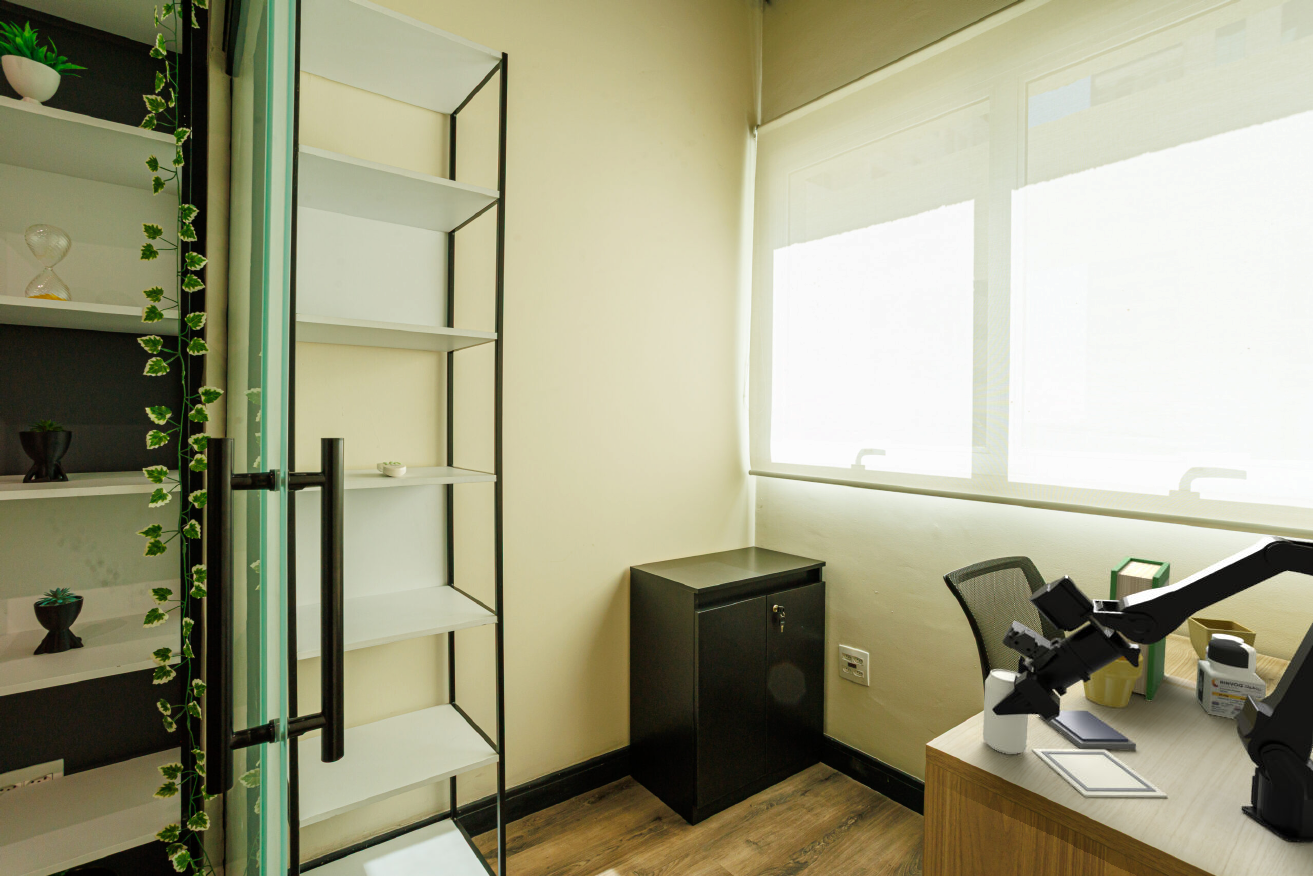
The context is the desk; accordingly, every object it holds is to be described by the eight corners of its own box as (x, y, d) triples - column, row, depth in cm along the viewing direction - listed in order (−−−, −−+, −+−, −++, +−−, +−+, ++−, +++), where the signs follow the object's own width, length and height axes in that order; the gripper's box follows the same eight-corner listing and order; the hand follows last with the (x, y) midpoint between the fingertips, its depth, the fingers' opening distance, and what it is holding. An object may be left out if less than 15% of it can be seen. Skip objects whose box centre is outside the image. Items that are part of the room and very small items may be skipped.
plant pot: (1145, 718, 111) (1148, 665, 111) (1076, 704, 116) (1079, 653, 116) (1135, 696, 120) (1137, 646, 120) (1071, 683, 125) (1073, 636, 125)
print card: (1167, 797, 88) (1167, 794, 88) (1084, 797, 88) (1085, 794, 88) (1104, 751, 100) (1104, 748, 100) (1031, 750, 100) (1032, 748, 100)
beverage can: (1022, 742, 102) (1025, 671, 102) (1029, 761, 97) (1032, 686, 96) (980, 734, 105) (983, 664, 104) (985, 752, 99) (988, 679, 98)
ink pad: (1135, 749, 101) (1136, 741, 101) (1081, 749, 100) (1081, 741, 100) (1087, 716, 112) (1087, 708, 112) (1038, 716, 111) (1038, 708, 111)
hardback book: (1151, 701, 118) (1158, 577, 117) (1104, 688, 124) (1111, 570, 123) (1163, 674, 131) (1170, 562, 130) (1120, 664, 136) (1126, 556, 135)
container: (1207, 715, 113) (1212, 645, 113) (1195, 698, 120) (1198, 632, 119) (1264, 725, 110) (1269, 654, 109) (1247, 707, 116) (1252, 640, 116)
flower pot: (1205, 669, 134) (1207, 628, 134) (1184, 654, 143) (1186, 615, 142) (1255, 674, 132) (1257, 633, 131) (1230, 659, 140) (1233, 620, 140)
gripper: (1041, 596, 105) (967, 645, 112) (1035, 627, 90) (950, 682, 96) (1095, 652, 101) (1015, 699, 108) (1099, 694, 86) (1005, 747, 92)
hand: (996, 704), depth 101 cm, fingers closed on beverage can, 6 cm apart
